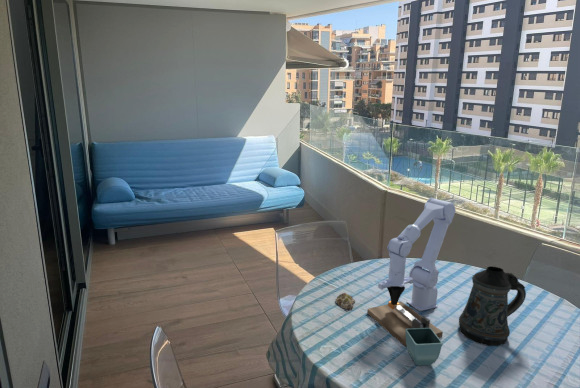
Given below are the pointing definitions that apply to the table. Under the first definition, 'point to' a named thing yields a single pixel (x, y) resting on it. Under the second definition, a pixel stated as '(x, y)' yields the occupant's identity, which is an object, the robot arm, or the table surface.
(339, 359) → the table surface
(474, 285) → the beer stein
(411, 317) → the press lever
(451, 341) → the table surface
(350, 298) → the mineral rock
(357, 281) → the table surface
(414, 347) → the flower pot
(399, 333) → the base
